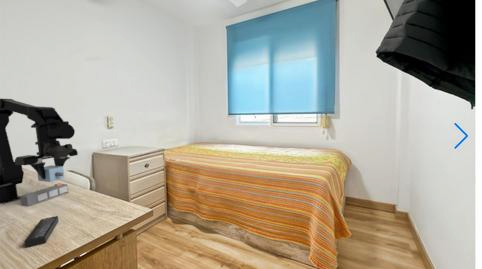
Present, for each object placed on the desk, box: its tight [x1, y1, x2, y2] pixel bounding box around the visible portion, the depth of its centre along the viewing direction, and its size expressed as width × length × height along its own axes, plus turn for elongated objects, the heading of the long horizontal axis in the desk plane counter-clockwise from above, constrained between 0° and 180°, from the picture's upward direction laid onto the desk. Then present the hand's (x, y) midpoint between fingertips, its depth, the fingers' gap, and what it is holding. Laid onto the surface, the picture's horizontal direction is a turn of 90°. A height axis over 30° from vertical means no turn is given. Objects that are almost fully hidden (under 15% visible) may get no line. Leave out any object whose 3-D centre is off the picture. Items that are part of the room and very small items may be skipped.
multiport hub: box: [23, 215, 59, 249], centre depth 65 cm, size 4×14×2 cm, turn 29°
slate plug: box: [36, 165, 65, 183], centre depth 86 cm, size 12×5×5 cm, turn 73°
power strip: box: [20, 182, 69, 207], centre depth 92 cm, size 4×15×5 cm, turn 163°
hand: (51, 176), depth 86 cm, fingers closed on slate plug, 5 cm apart
